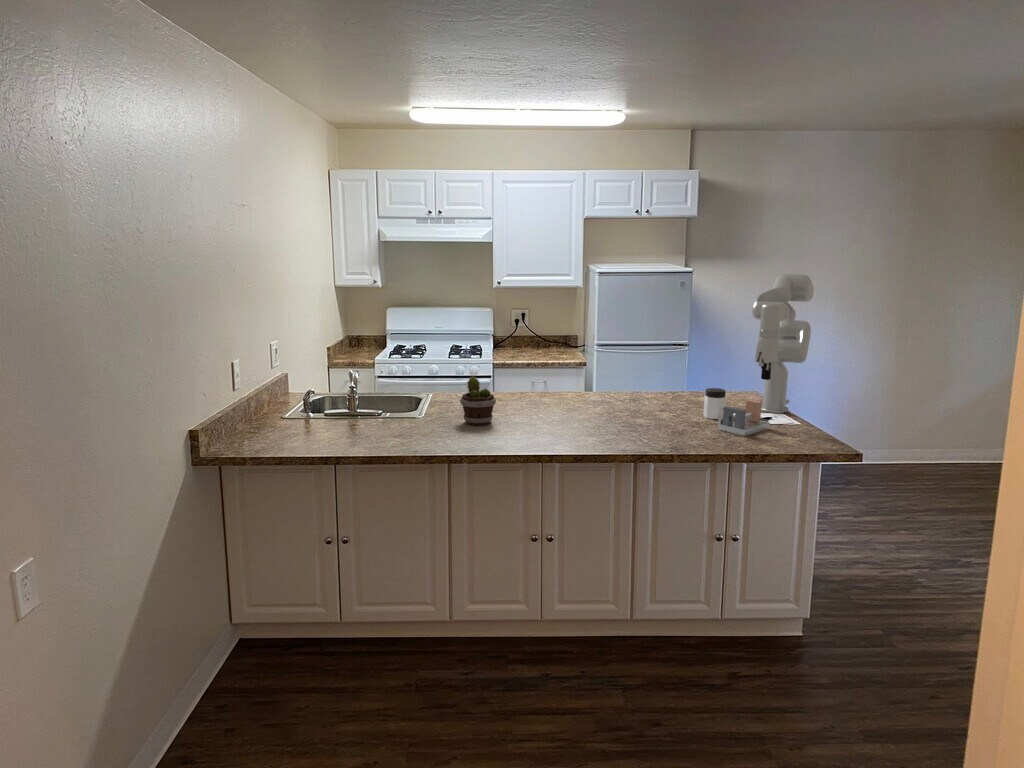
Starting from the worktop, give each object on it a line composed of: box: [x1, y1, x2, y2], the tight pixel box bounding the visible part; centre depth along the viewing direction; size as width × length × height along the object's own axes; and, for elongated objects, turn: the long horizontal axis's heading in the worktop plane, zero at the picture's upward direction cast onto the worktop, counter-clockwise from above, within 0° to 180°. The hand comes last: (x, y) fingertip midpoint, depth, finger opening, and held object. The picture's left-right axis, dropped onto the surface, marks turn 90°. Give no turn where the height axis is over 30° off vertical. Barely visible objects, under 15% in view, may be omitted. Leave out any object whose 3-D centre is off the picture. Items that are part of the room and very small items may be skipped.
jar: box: [702, 387, 727, 421], centre depth 307 cm, size 9×8×12 cm
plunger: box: [734, 399, 770, 422], centre depth 288 cm, size 15×8×8 cm, turn 130°
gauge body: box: [717, 405, 771, 437], centre depth 289 cm, size 18×12×10 cm, turn 130°
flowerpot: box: [459, 373, 497, 426], centre depth 296 cm, size 14×15×20 cm
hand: (765, 379), depth 295 cm, fingers closed
